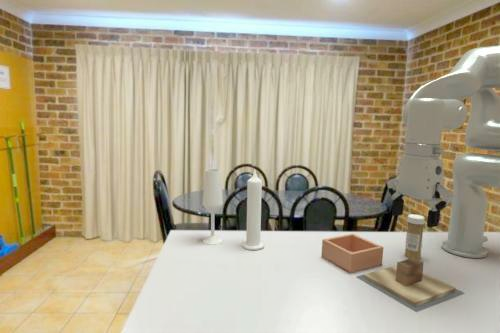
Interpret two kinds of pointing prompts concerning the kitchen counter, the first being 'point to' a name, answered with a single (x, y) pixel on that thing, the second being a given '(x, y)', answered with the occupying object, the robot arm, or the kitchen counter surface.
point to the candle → (253, 214)
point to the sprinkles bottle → (414, 236)
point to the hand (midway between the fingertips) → (413, 220)
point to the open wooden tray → (352, 253)
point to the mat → (416, 309)
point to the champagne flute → (212, 200)
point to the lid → (410, 282)
